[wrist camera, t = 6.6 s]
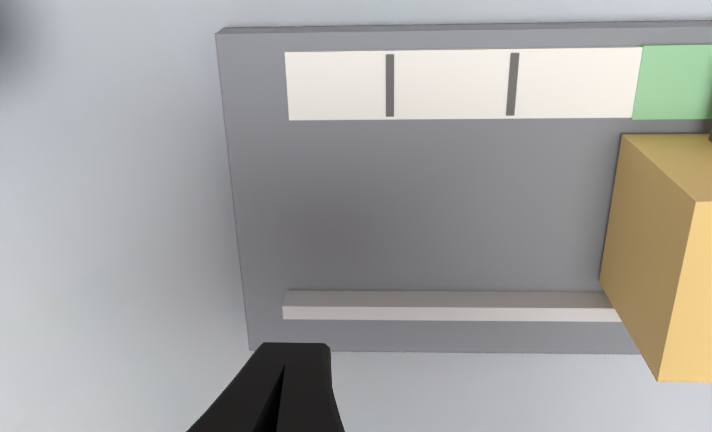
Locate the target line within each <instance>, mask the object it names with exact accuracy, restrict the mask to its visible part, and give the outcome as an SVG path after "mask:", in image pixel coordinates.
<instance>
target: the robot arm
mask: <svg viewBox="0 0 712 432" xmlns="http://www.w3.org/2000/svg"><path fill="white" fill-rule="evenodd" d="M187 432H345V431H344V428H343V425H342V422H341V419H340V415H339V412H338V408H337V405H336V401H335V398H334V393H333V389H332V377H331V353H330V347H329V346H327V345H326V344H325V343H287V342H263V343H262V344H261V345H260V346H259V347H258V348H257V350H256V351H255V352H254V354H253V355H252V356H251V358H250V359H249V360H248V361H247V363H246V364H245V365H244V367H243V368H242V369H241V370H240V372H239V373H238V374H237V375H236V377H235V378H234V379H233V380H232V382H231V383H230V384H229V385H228V387H227V388H226V389H225V390H224V391H223V392H222V393H221V395H220V396H219V397H218V398H217V399H216V400H215V402H214V403H213V404H212V405H211V406H210V407H209V409H208V410H207V411H206V412H205V413H204V414H203V415H202V416H201V417H200V418H199V419H198V420H197V421H196V422H195V423H194V424H193V425H192V426H191V427H190V429H189V430H188V431H187Z"/></svg>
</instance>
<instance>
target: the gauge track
mask: <svg viewBox="0 0 712 432" xmlns="http://www.w3.org/2000/svg"><path fill="white" fill-rule="evenodd" d="M215 39H216V48H217V58H218V67H219V76H220V85H221V94H222V103H223V112H224V122H225V131H226V140H227V149H228V158H229V167H230V176H231V186H232V195H233V204H234V213H235V222H236V231H237V241H238V250H239V259H240V268H241V277H242V286H243V295H244V305H245V314H246V323H247V332H248V341H249V350H250V351H256V350H257V348H258V347H259V346H260V345H261V344H262V343H263V342H287V343H325V344H326V345H327V346H329V347H330V351H349V352H448V353H548V354H641V353H640V351H639V350H638V348H637V346H636V345H635V343H634V341H633V339H632V338H631V336H630V334H629V333H628V331H627V329H626V327H625V326H624V324H623V322H622V321H621V319H620V317H619V316H618V314H617V312H616V310H615V309H614V307H613V305H612V304H611V302H610V300H609V298H608V297H607V295H606V293H605V292H604V290H603V288H602V286H601V285H600V283H599V278H600V272H601V266H602V259H603V253H604V246H605V240H606V234H607V227H608V221H609V214H610V208H611V201H612V195H613V189H614V182H615V176H616V169H617V163H618V157H619V150H620V144H621V137H622V134H710V129H711V125H712V20H701V21H635V22H570V23H505V24H440V25H374V26H309V27H244V28H224V29H222V30H220V31H219V32H217V33H216V34H215Z"/></svg>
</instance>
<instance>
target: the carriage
mask: <svg viewBox="0 0 712 432" xmlns="http://www.w3.org/2000/svg"><path fill="white" fill-rule="evenodd" d="M599 283H600V285H601V286H602V288H603V290H604V292H605V293H606V295H607V297H608V298H609V300H610V302H611V304H612V305H613V307H614V309H615V310H616V312H617V314H618V316H619V317H620V319H621V321H622V322H623V324H624V326H625V327H626V329H627V331H628V333H629V334H630V336H631V338H632V339H633V341H634V343H635V345H636V346H637V348H638V350H639V351H640V353H641V355H642V357H643V358H644V360H645V362H646V363H647V365H648V367H649V369H650V370H651V372H652V374H653V375H654V377H655V379H656V380H657V382H712V125H711V129H710V134H622V137H621V144H620V150H619V157H618V163H617V169H616V176H615V182H614V189H613V195H612V201H611V208H610V214H609V221H608V227H607V234H606V240H605V246H604V253H603V259H602V266H601V272H600V278H599Z"/></svg>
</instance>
